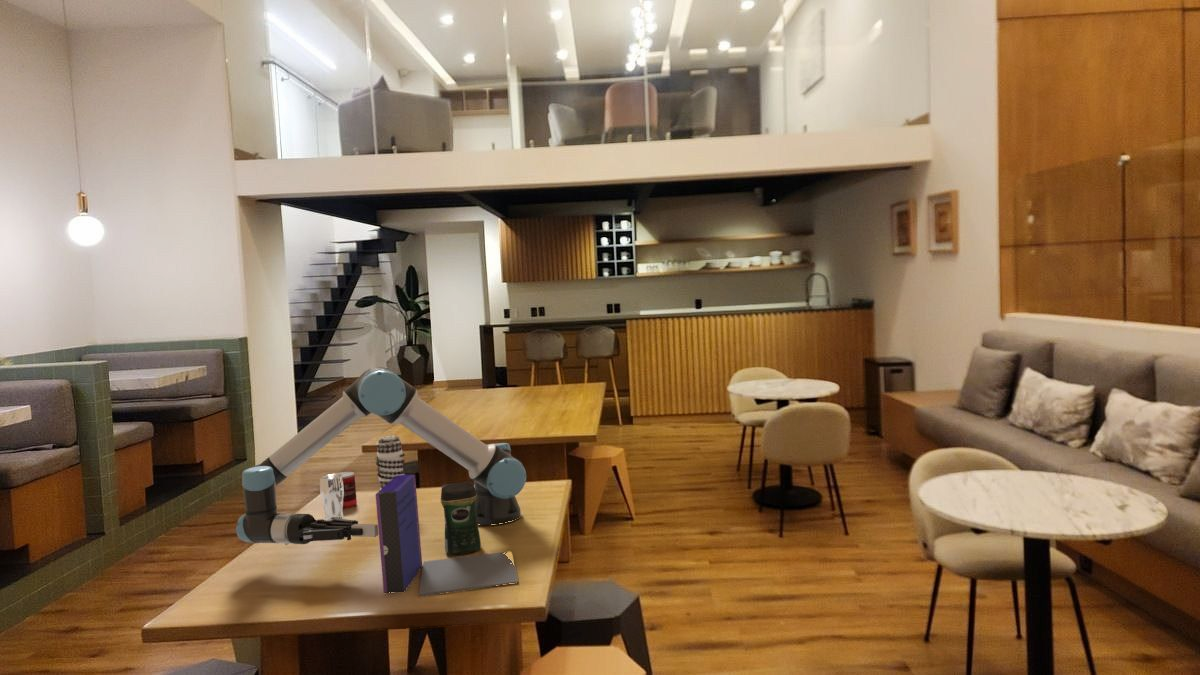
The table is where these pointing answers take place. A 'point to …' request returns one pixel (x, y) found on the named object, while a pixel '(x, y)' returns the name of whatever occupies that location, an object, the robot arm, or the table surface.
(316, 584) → the table surface
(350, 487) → the canned food
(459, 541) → the coffee jar
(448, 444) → the robot arm
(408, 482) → the cereal box
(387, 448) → the decorative candle
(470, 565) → the flat gray object
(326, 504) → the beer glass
